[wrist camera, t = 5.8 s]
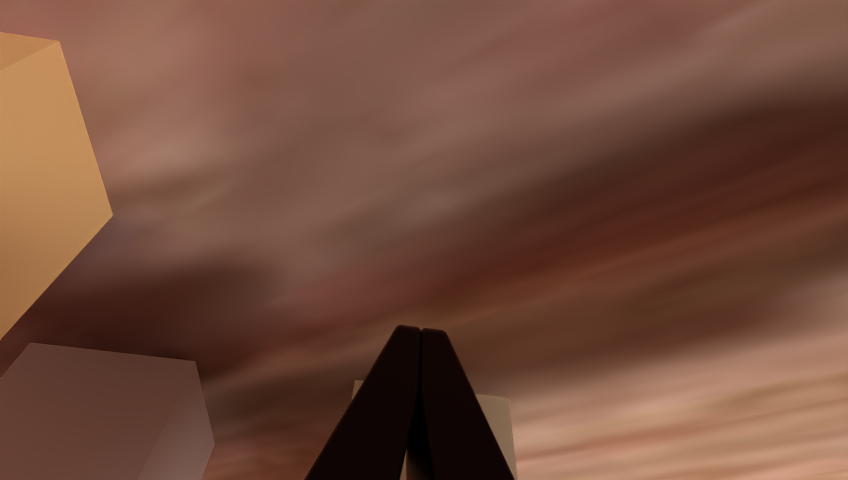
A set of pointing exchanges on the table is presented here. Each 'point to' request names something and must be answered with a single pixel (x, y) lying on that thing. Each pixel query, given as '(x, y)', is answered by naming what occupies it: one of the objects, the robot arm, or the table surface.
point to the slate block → (102, 417)
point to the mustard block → (41, 173)
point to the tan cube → (497, 419)
